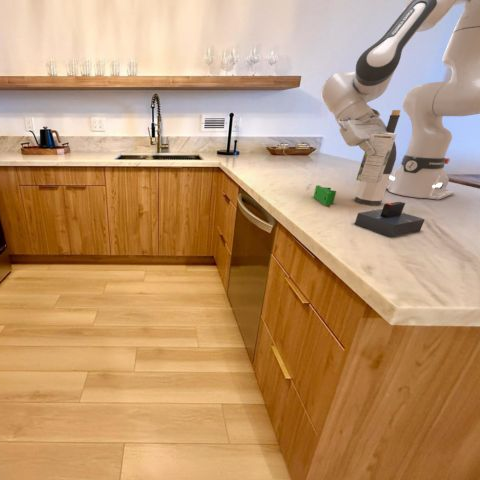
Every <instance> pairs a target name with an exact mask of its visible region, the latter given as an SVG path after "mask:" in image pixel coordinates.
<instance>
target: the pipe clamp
mask: <svg viewBox="0 0 480 480" xmlns="http://www.w3.org/2000/svg"><path fill="white" fill-rule="evenodd" d="M314 188H315V189H314V193H313V198H314V199H315V200H317V201H318V202H320V203H321V204H322V205H323V206H324V207H329V206H330V204H331V205H332V204H334V203H335V199H336V194H337V190H333V189H332V188H331V187H323V186H321V185H319V184H316V185H315V187H314ZM331 189H332V190H331Z"/></svg>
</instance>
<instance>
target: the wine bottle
mask: <svg viewBox="0 0 480 480" xmlns="http://www.w3.org/2000/svg"><path fill="white" fill-rule="evenodd" d="M400 114H401V109H393V110H392V111H391V114H389V119H388V122H387V125H386V127H387V128H386V131H387V132H388V133H395V131H396V128H397V125H398V122H399V118H400V117H401V115H400ZM396 161H397V144H396V141H395V140H394V143H393V146H392V149H391V152H390V155H389V158H388V161H387V164H386V167H385V169H384V172H383V175H382V178H381V180H380V181H379V182H377V183H374V182H366V181H359V184H358V188H357V191H356V194H355V198H354V202H355V203H359V204H363V205H367V206H368V205H369V206H380V205H381V203H382V201H383V200H384V199H383V198H384V196H385V193H386V190H387V189H386V187H387V185H388V183H389V181H390V176H392V172H393V170H394V166H395V163H396Z"/></svg>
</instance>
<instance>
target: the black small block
mask: <svg viewBox="0 0 480 480" xmlns="http://www.w3.org/2000/svg"><path fill="white" fill-rule="evenodd" d="M405 205H406V203H405V202H402V201H394V202H385V203H383V207H382V209H383V210H382V213H381V216H382V217H385V218H388V217H394V216H399V215H401V213H403V211H404V208H405Z"/></svg>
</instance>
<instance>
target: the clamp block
mask: <svg viewBox="0 0 480 480" xmlns="http://www.w3.org/2000/svg"><path fill="white" fill-rule="evenodd" d="M382 210H383V208H380V209H379V208H378V209H371V210H368V211H361V212H357V214H356V219H355V222H354V225H356V226H357V227H361V228H364V229H365V230H369V231H372V232H374V233H377V234H380V235H383V236H385V237H388V238H394V237H399V236H404V235H408V234H414V233H418V232H421V230H422V228H423V225H424V223H425V220H426V219H425V218H422V217H419V216H415V215H412V214H408V213H405V212H402V213H401V215H399V216H394V217H388V218H385V217H382V216H381V213H382Z"/></svg>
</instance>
